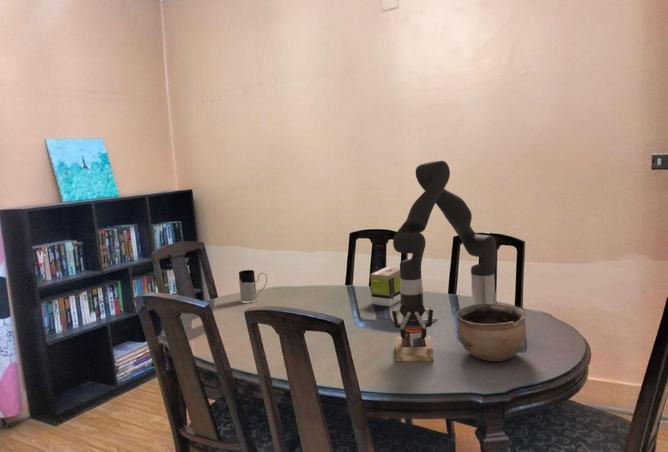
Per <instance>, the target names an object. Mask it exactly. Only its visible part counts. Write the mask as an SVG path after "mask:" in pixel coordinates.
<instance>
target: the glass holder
mask: <svg viewBox="0 0 668 452" xmlns="http://www.w3.org/2000/svg"><path fill="white" fill-rule="evenodd" d="M261 274H263V275H265V279H266V280H265V284H264V286H263V287H262V288H261V290H259V291H258V293H257V287H256V286H257V283H258V282H259V280H260V279H259V277H260V275H261ZM255 279H256V278H255V271H254V270H253V269H248V270H247V269H245V270H240V271H238V282H239V291H240V292H239V294H240V301H253V300H256V299H258V295H259V294H260V292H262V291H263V290H264V289H265V288H266V286H267V282H268V276H267V274H266V273H265V272H261V273H259V274H258V275H257V280H255Z"/></svg>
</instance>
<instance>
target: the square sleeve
mask: <svg viewBox="0 0 668 452" xmlns="http://www.w3.org/2000/svg"><path fill="white" fill-rule="evenodd" d="M394 339H395V357H396V362H421V361H422V362H427V361H428V362H429V361H430V362H431V361H434V347H433V343H432V339H431V336H430V335H427V336H426V337H425V339H423V347H405V340H403V338H401V335H399V336H398V335H397V336H395V337H394Z"/></svg>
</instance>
